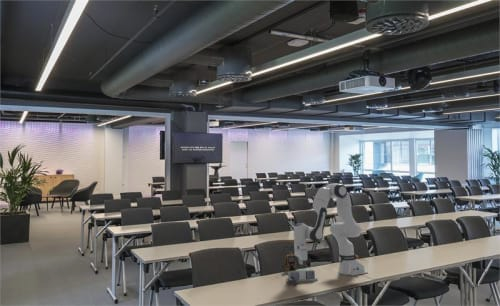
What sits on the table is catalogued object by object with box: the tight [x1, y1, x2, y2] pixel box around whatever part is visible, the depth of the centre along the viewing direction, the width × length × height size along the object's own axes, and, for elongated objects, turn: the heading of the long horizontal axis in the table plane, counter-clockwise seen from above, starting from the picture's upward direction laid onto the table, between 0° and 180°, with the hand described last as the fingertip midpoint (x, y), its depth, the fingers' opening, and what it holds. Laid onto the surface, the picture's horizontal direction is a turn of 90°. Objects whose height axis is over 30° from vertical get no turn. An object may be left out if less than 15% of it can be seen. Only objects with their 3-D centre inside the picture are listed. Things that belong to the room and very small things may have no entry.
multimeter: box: [282, 245, 301, 274], centre depth 314 cm, size 15×10×20 cm
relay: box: [287, 279, 298, 286], centre depth 280 cm, size 6×4×4 cm, turn 84°
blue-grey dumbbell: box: [285, 268, 319, 283], centre depth 289 cm, size 22×7×7 cm, turn 101°
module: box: [296, 268, 307, 280], centre depth 289 cm, size 4×5×7 cm
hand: (300, 264), depth 289 cm, fingers closed
